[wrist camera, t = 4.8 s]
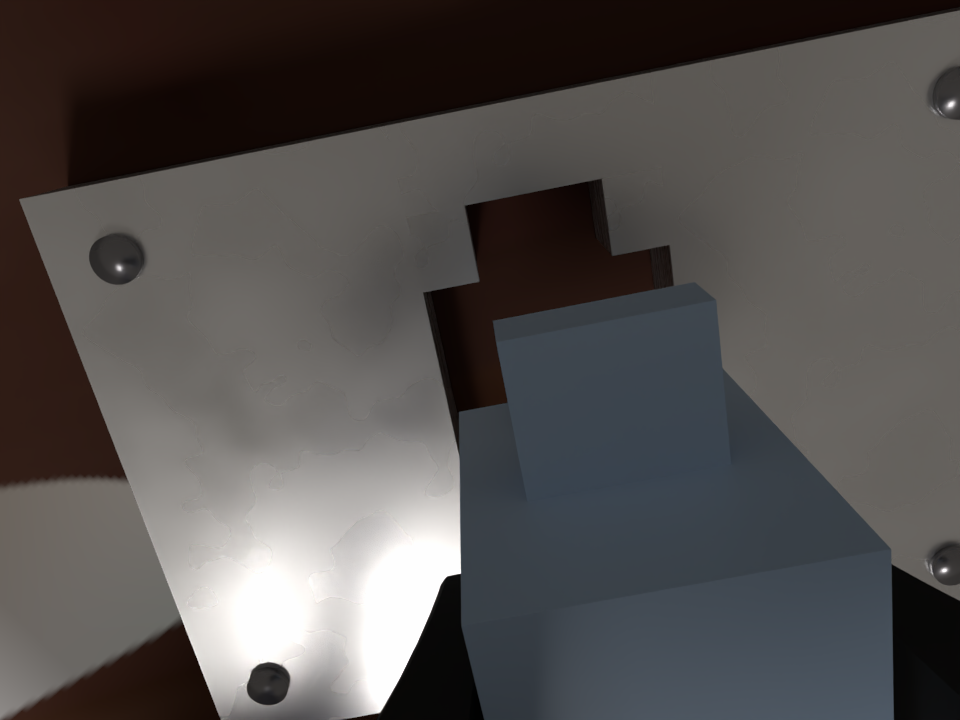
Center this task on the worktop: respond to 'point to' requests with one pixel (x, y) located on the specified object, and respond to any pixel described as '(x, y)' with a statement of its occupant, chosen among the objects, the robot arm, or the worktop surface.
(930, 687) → the robot arm
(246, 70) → the worktop surface
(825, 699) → the servo
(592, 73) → the worktop surface
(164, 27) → the worktop surface
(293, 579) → the plate
